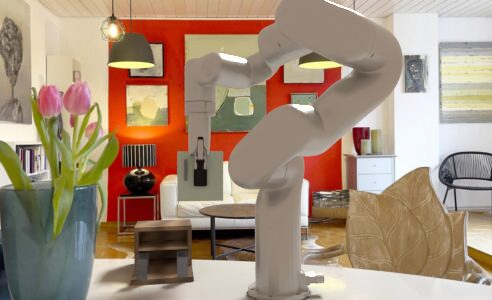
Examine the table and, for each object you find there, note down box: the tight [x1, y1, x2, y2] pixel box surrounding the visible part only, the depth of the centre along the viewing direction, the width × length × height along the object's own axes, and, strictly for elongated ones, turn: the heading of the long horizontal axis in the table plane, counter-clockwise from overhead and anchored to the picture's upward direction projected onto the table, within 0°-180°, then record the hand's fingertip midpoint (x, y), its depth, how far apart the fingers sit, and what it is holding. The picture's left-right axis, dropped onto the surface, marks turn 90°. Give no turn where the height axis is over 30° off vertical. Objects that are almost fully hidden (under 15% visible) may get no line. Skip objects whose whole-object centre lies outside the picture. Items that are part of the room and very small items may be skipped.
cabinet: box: [129, 218, 195, 286], centre depth 103 cm, size 14×20×11 cm
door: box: [176, 150, 224, 202], centre depth 101 cm, size 11×3×12 cm, turn 97°
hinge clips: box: [136, 251, 188, 280], centre depth 97 cm, size 11×6×4 cm, turn 100°
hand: (200, 185), depth 101 cm, fingers closed on door, 2 cm apart
